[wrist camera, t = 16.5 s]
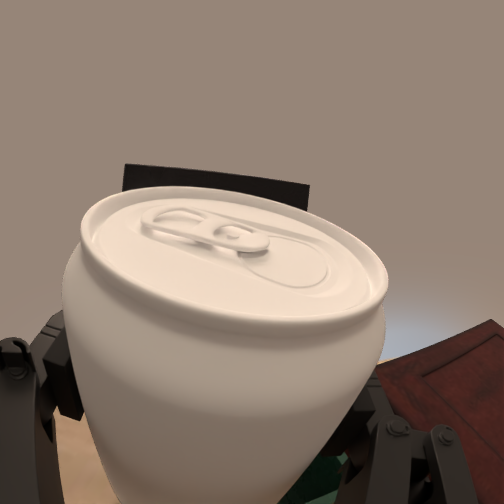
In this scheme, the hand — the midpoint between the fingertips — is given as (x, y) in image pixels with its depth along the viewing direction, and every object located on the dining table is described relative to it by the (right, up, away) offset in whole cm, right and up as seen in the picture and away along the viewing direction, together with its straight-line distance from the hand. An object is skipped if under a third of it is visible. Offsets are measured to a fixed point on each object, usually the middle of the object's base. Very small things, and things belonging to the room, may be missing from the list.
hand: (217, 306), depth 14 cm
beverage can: (-1, -8, -2) cm, 8 cm away
